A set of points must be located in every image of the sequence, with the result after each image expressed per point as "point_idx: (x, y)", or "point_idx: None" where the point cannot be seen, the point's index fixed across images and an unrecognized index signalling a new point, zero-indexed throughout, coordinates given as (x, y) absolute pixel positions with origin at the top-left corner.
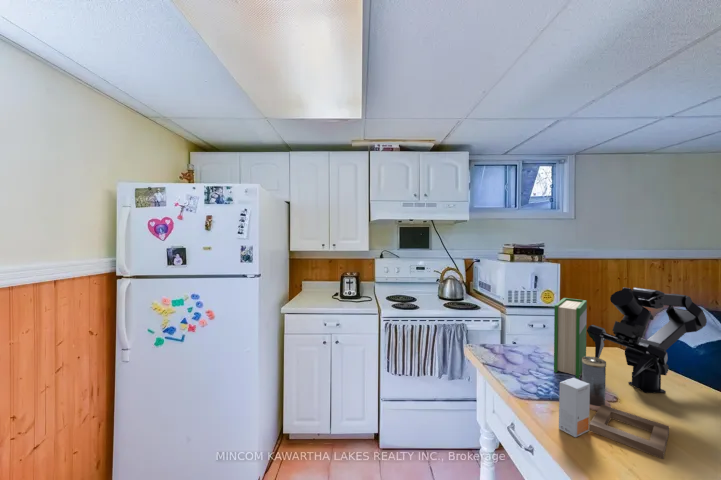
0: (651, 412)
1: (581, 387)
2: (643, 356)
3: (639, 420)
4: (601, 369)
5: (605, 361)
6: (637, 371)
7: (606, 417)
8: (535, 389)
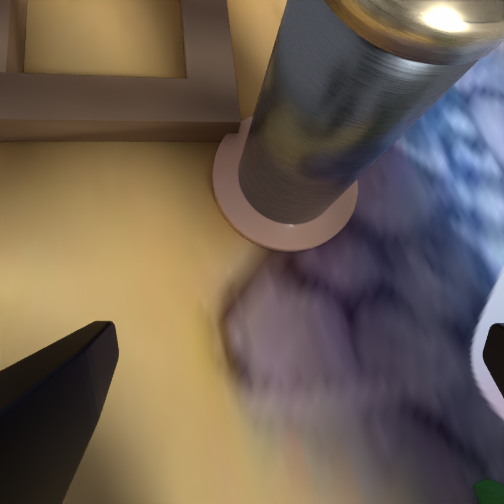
0: (49, 329)
1: None
2: None
3: (68, 78)
4: None
5: None
6: (45, 351)
7: (186, 10)
8: (487, 135)
